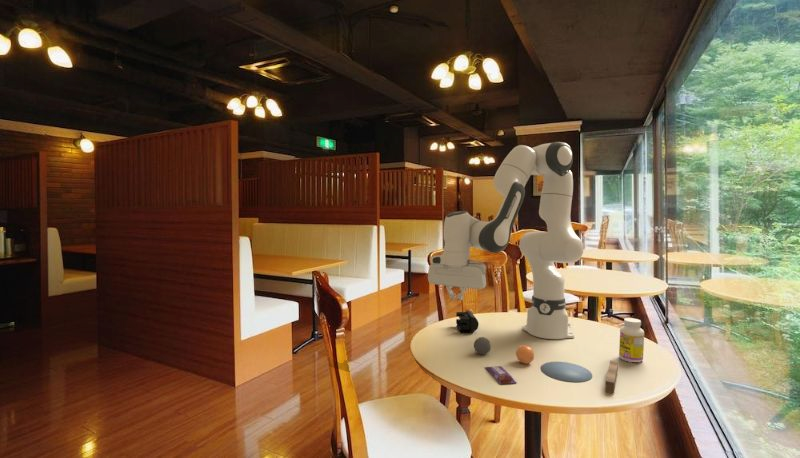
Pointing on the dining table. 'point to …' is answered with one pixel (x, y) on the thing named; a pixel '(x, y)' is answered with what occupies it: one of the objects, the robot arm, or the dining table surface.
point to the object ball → (525, 354)
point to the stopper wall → (611, 377)
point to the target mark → (566, 371)
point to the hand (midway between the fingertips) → (456, 299)
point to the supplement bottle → (631, 341)
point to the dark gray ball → (482, 345)
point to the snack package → (501, 375)
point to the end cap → (466, 322)
